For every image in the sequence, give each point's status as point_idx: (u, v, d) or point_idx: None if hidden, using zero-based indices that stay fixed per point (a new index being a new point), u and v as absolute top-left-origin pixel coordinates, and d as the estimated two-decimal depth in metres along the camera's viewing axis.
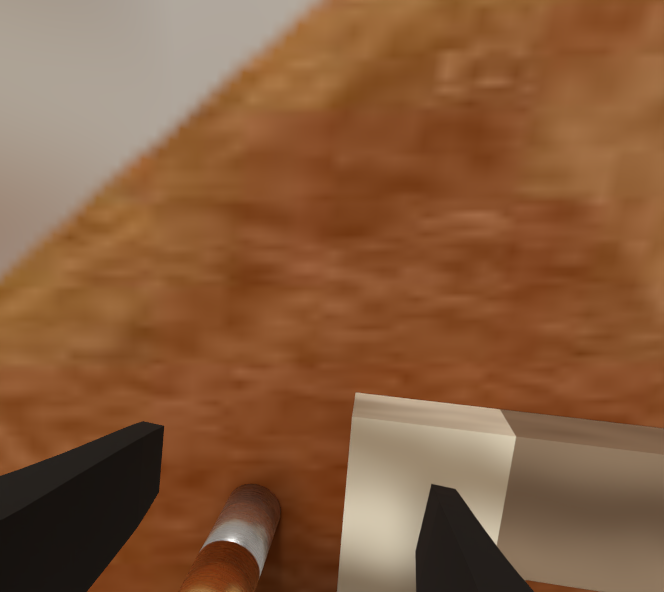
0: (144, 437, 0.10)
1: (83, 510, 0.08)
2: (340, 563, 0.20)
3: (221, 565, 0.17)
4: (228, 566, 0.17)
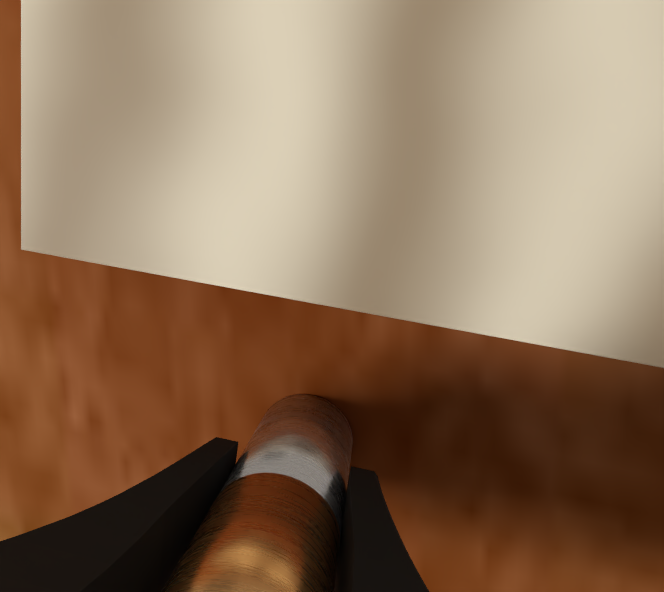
0: (225, 455, 0.10)
1: (179, 533, 0.08)
2: (327, 303, 0.10)
3: None
4: None
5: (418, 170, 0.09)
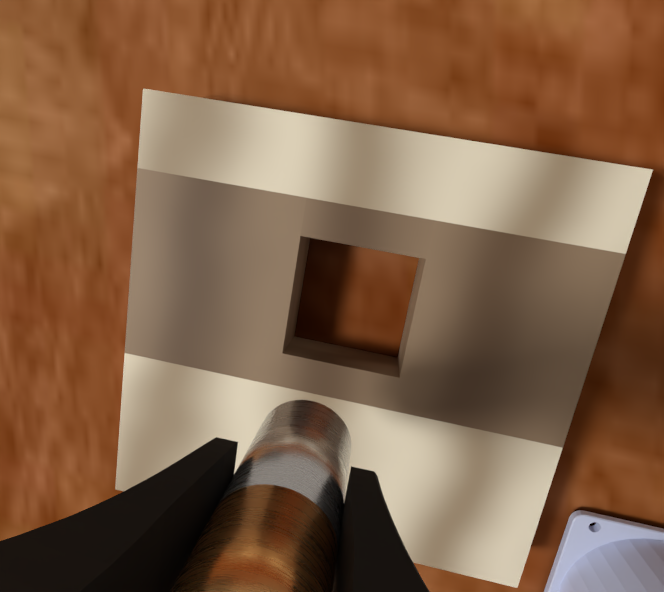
0: (225, 455, 0.10)
1: (179, 533, 0.08)
2: None
3: None
4: (191, 553, 0.08)
5: None
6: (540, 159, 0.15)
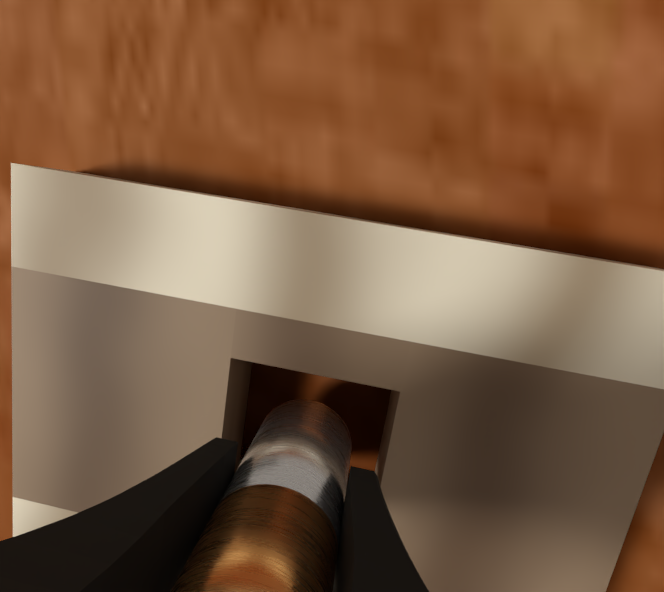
0: (225, 455, 0.10)
1: (179, 533, 0.08)
2: None
3: None
4: None
5: None
6: (557, 263, 0.11)
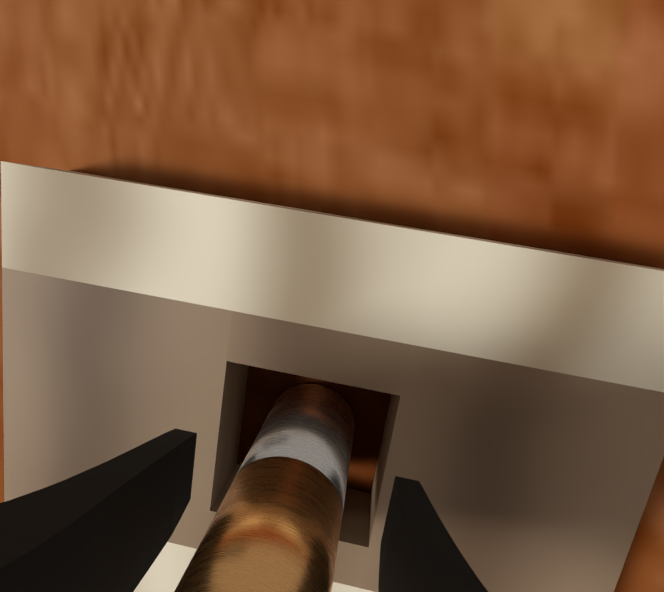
0: (180, 445, 0.10)
1: (126, 520, 0.08)
2: None
3: None
4: (216, 513, 0.10)
5: None
6: (562, 264, 0.10)
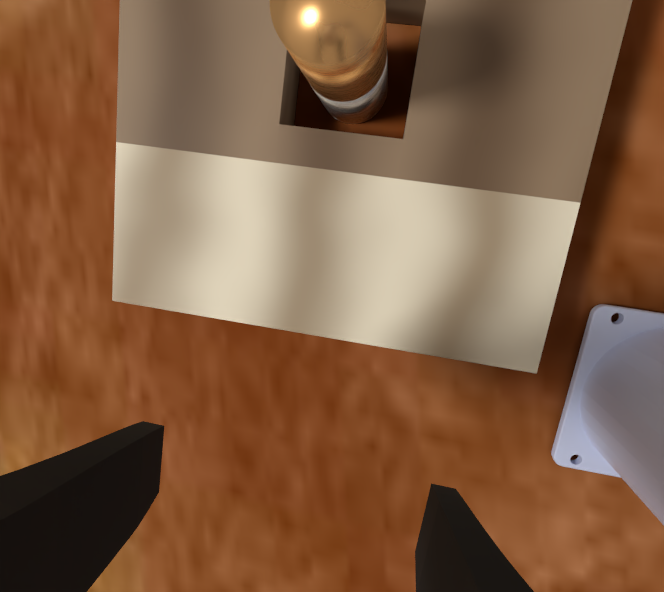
0: (144, 437, 0.10)
1: (83, 510, 0.08)
2: (274, 327, 0.18)
3: None
4: None
5: (316, 260, 0.18)
6: None
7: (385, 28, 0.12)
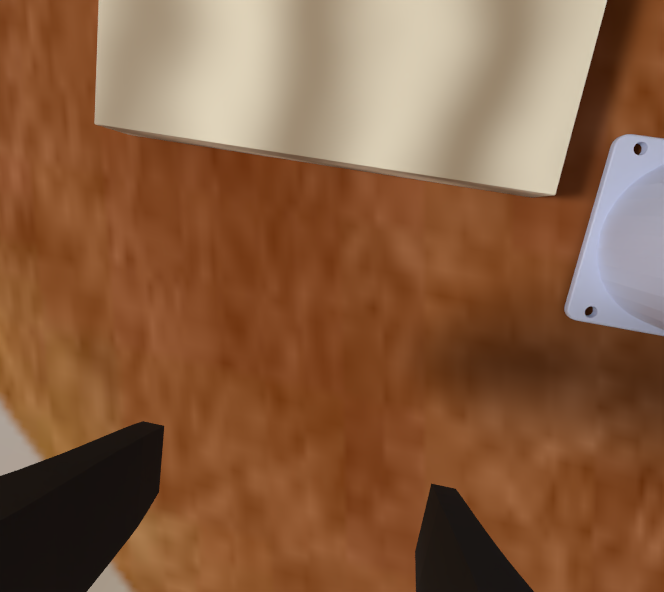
0: (144, 437, 0.10)
1: (83, 510, 0.08)
2: (271, 150, 0.17)
3: None
4: None
5: (319, 69, 0.16)
6: None
7: None
